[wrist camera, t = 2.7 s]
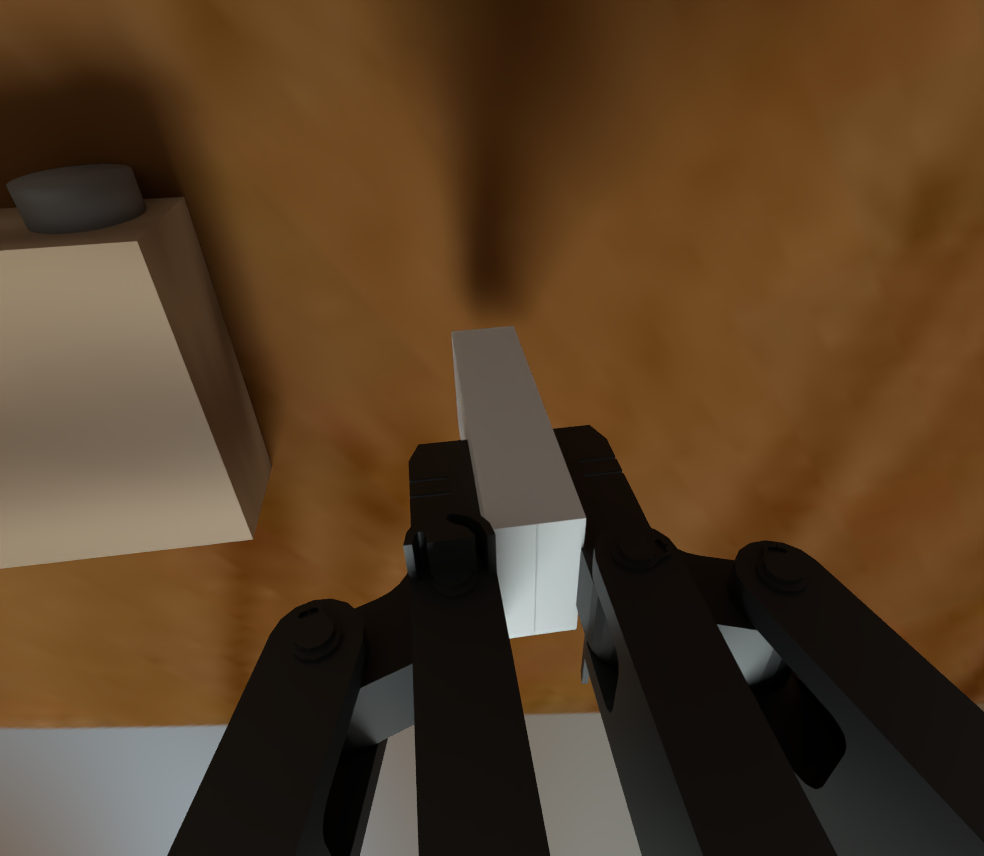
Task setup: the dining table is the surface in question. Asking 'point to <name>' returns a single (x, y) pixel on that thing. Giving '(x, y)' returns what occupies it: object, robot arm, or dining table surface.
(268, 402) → the dining table surface
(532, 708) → the dining table surface
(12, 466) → the trolley
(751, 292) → the dining table surface
